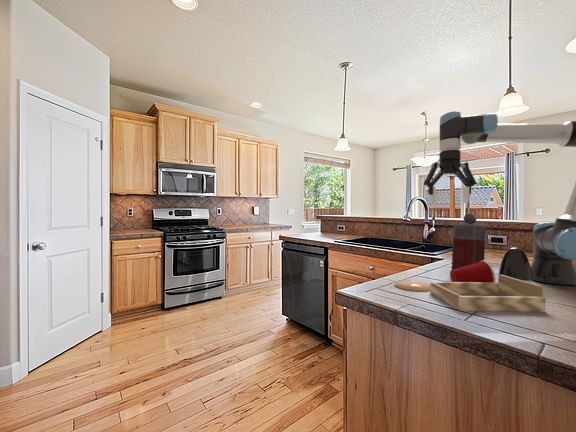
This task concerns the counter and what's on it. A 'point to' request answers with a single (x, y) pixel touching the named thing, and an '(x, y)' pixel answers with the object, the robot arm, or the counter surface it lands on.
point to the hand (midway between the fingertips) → (449, 202)
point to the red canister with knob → (468, 243)
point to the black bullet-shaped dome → (516, 265)
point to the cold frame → (510, 290)
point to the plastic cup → (474, 273)
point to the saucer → (413, 285)
